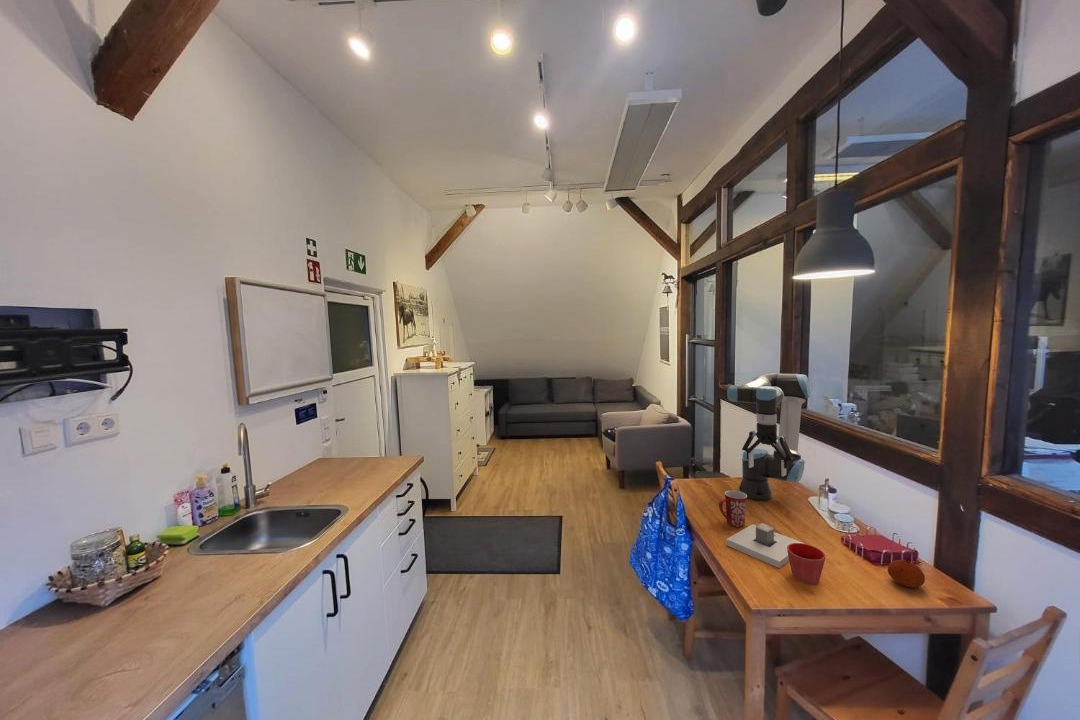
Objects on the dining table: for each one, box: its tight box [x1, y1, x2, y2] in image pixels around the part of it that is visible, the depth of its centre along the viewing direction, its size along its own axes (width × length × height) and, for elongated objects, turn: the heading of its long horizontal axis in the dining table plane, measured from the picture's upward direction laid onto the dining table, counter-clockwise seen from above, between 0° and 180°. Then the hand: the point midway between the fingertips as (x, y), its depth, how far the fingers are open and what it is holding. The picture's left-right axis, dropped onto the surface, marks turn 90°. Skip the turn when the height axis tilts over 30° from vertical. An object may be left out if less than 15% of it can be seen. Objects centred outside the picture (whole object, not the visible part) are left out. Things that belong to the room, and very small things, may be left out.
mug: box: [718, 489, 748, 528], centre depth 176 cm, size 13×9×14 cm
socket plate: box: [726, 523, 806, 569], centre depth 157 cm, size 20×20×3 cm
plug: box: [756, 522, 775, 547], centre depth 157 cm, size 5×5×8 cm
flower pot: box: [787, 542, 826, 586], centre depth 137 cm, size 11×11×10 cm
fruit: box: [887, 559, 926, 589], centre depth 132 cm, size 9×9×8 cm
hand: (767, 471), depth 173 cm, fingers open, 13 cm apart
